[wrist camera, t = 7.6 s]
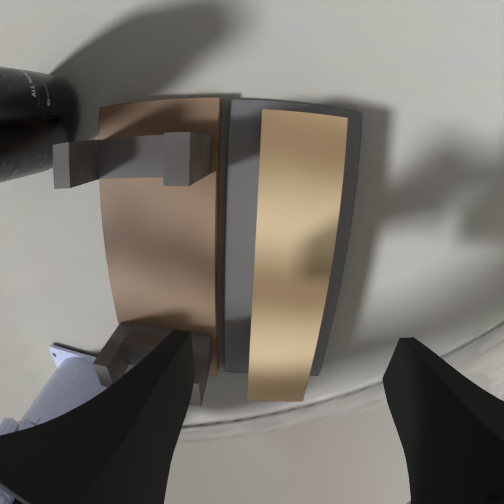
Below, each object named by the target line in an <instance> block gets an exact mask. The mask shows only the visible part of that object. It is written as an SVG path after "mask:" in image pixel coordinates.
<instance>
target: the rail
mask: <svg viewBox="0 0 504 504" xmlns="http://www.w3.org/2000/svg"><path fill="white" fill-rule="evenodd" d="M347 121H348V118H345V117H338V116H331V115H323V114H315V113H306V112H295V111H283V110H268V109H262V124H261V144H260V164H259V184H258V204H257V223H256V242H255V261H254V280H253V299H252V318H251V336H250V354H249V372H248V390H247V400H259V401H298V402H301V401H303V398H304V394H305V390H306V386H307V382H308V378H309V374H310V370H311V366H312V362H313V358H314V353H315V349H316V345H317V340H318V335H319V331H320V326H321V321H322V316H323V311H324V306H325V301H326V296H327V290H328V284H329V279H330V273H331V267H332V261H333V254H334V248H335V241H336V234H337V227H338V219H339V211H340V203H341V194H342V185H343V175H344V164H345V152H346V138H347Z"/></svg>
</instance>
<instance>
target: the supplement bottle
mask: <svg viewBox="0 0 504 504" xmlns="http://www.w3.org/2000/svg"><path fill="white" fill-rule="evenodd" d="M77 119H78V107H77V100H76V96H75V93H74V91H73V89H72V87H71V86H70V85H69V83H68V82H66V81H65V80H64V79H62V78H60V77H58V76H54V75H49V74H44V73H39V72H33V71H27V70H20V69H13V68H6V67H0V183H2V182H5V181H9V180H12V179H16V178H20V177H24V176H28V175H32V174H35V173H39V172H43V171H46V170H48V169H50V168H52V167H53V145H55V144H61V143H67V142H72V140H73V137H74V134H75V130H76V126H77Z"/></svg>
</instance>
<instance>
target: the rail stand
mask: <svg viewBox="0 0 504 504" xmlns="http://www.w3.org/2000/svg"><path fill="white" fill-rule="evenodd" d="M221 116H222V99H221V98H220V97H211V98H181V99H165V100H153V101H143V102H134V103H126V104H119V105H112V106H105V107H100V111H99V140H89V141H76V142H67V143H61V144H55V145H53V173H54V189H61V188H72V187H75V186H78V185H81V184H84V183H87V182H91V181H94V180H97V179H99V184H100V201H101V214H102V224H103V234H104V242H105V250H106V258H107V264H108V271H109V277H110V283H111V289H112V294H113V299H114V304H115V309H116V314H117V318H118V323H119V326H118V327H117V329H116V330H115V331H114V333H113V334H112V336H111V337H110V339H109V340H108V342H107V343H106V344H105V346H104V347H103V349H102V350H101V352H100V353H99V355H98V356H97V358H96V359H95V361H94V362H93V365H94V368H95V371H96V373H97V376H98V378H99V381H100V383H101V386H104V387H109V386H111V385H112V384H113V383H115V382H116V381H117V380H118V379H120V378H121V377H122V375H123V373H124V372H125V370H126V368H127V366H128V364H131V365H136V364H137V363H139V362H140V361H141V360H142V359H143V358H144V357H145V356H146V355H147V354H148V353H149V352H151V351H152V350H153V349H154V348H155V347H156V346H157V345H158V344H159V343H160V342H161V341H162V340H163V339H164V338H165V337H166V336H167V335H168V334H169V333H170V332H171V331H172V330H182V331H191V334H192V346H193V357H194V367H195V379H194V384H193V390H192V395H191V400H190V403H189V404H190V405H197V406H201V404H202V400H203V395H204V391H205V387H206V382H207V378H208V375H209V376H217V373H218V368H219V361H218V301H217V255H218V194H219V162H220V137H221Z"/></svg>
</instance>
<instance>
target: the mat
mask: <svg viewBox="0 0 504 504" xmlns="http://www.w3.org/2000/svg"><path fill="white" fill-rule="evenodd" d="M262 109H268V110H283V111H295V112H306V113H315V114H323V115H331V116H338V117H345V118H348V121H347V138H346V152H345V164H344V175H343V185H342V194H341V203H340V211H339V219H338V227H337V234H336V241H335V248H334V254H333V261H332V267H331V273H330V279H329V284H328V290H327V296H326V301H325V306H324V311H323V316H322V321H321V326H320V331H319V335H318V340H317V345H316V349H315V353H314V358H313V362H312V366H311V370H310V374H309V376H318V375H319V371H320V368H321V364H322V360H323V357H324V353H325V349H326V345H327V341H328V337H329V333H330V329H331V325H332V321H333V316H334V312H335V307H336V303H337V298H338V293H339V288H340V284H341V278H342V273H343V268H344V263H345V257H346V251H347V246H348V239H349V233H350V227H351V220H352V213H353V206H354V198H355V190H356V182H357V173H358V163H359V152H360V140H361V125H362V112H358V111H353V110H347V109H341V108H334V107H327V106H320V105H312V104H303V103H293V102H281V101H266V100H244V99H231V104H230V123H229V144H228V168H227V196H226V233H225V299H224V356H225V372H236V373H248V372H249V354H250V336H251V318H252V299H253V280H254V261H255V242H256V223H257V204H258V184H259V164H260V144H261V124H262Z"/></svg>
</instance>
